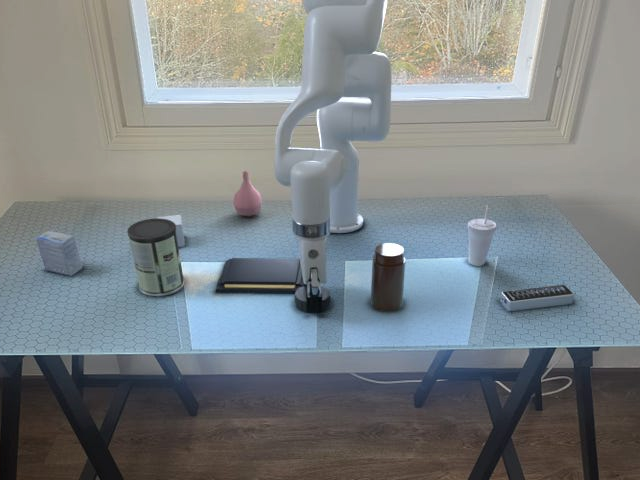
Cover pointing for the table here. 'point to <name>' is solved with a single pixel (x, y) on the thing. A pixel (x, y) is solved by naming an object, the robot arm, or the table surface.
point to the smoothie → (480, 239)
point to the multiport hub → (536, 297)
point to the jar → (388, 277)
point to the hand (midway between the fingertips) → (312, 299)
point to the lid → (302, 292)
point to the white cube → (177, 228)
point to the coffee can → (156, 256)
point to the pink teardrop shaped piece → (247, 198)
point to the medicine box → (59, 253)
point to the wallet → (260, 276)
